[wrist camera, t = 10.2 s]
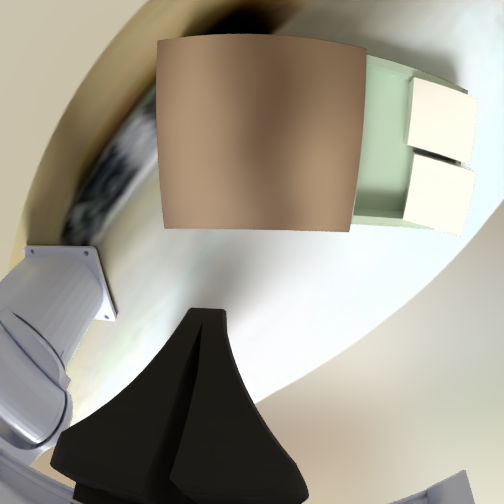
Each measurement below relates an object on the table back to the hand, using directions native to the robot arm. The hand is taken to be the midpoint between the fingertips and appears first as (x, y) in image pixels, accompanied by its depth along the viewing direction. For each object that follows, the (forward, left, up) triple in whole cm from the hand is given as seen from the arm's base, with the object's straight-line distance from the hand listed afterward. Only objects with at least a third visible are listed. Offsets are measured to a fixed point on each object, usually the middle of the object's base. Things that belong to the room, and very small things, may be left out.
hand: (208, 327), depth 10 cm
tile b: (+13, +9, -7) cm, 17 cm away
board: (+2, +6, -10) cm, 12 cm away
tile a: (+14, +4, -7) cm, 16 cm away
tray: (+12, +6, -10) cm, 17 cm away
